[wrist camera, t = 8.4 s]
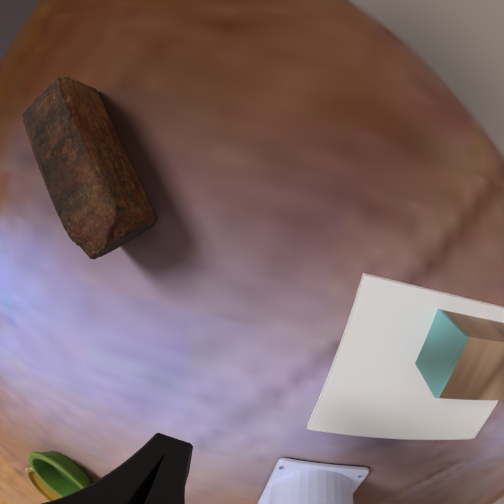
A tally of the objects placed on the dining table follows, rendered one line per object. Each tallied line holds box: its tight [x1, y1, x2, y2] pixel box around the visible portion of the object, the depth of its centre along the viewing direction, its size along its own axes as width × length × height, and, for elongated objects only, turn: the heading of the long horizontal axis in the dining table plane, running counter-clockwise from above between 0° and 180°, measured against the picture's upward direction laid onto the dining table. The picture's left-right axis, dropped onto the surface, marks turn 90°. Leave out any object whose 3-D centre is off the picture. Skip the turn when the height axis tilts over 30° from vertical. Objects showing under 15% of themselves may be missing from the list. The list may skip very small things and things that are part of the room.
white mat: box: [307, 273, 504, 440], centre depth 18 cm, size 12×16×1 cm
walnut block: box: [415, 309, 504, 400], centre depth 15 cm, size 4×4×8 cm
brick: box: [22, 77, 157, 259], centre depth 17 cm, size 11×4×5 cm, turn 28°
